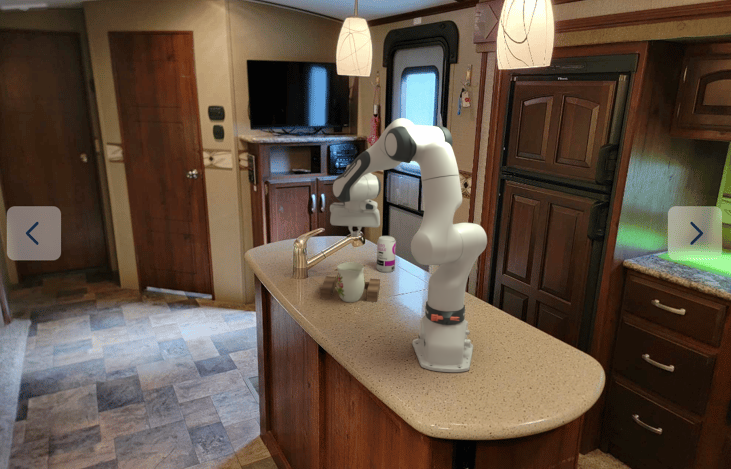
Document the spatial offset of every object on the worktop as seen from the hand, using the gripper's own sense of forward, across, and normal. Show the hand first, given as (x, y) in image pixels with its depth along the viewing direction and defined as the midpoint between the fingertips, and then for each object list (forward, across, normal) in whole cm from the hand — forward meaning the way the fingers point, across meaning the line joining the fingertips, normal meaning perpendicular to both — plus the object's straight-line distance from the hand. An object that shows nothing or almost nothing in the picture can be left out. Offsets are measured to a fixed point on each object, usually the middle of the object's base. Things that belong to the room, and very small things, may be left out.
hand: (354, 236), depth 198 cm
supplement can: (+20, +12, +19) cm, 30 cm away
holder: (+20, 0, -11) cm, 23 cm away
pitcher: (+20, 0, -16) cm, 26 cm away
